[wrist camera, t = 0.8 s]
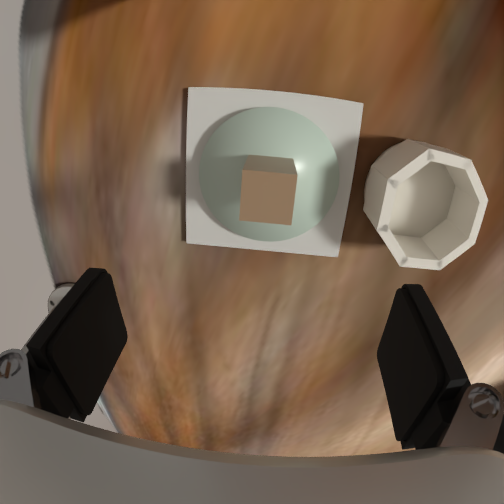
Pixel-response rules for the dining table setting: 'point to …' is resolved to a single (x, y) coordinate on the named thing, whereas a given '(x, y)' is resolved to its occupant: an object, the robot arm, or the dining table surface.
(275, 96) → the mat
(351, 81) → the dining table surface
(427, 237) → the bowl
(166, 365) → the dining table surface
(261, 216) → the lid
